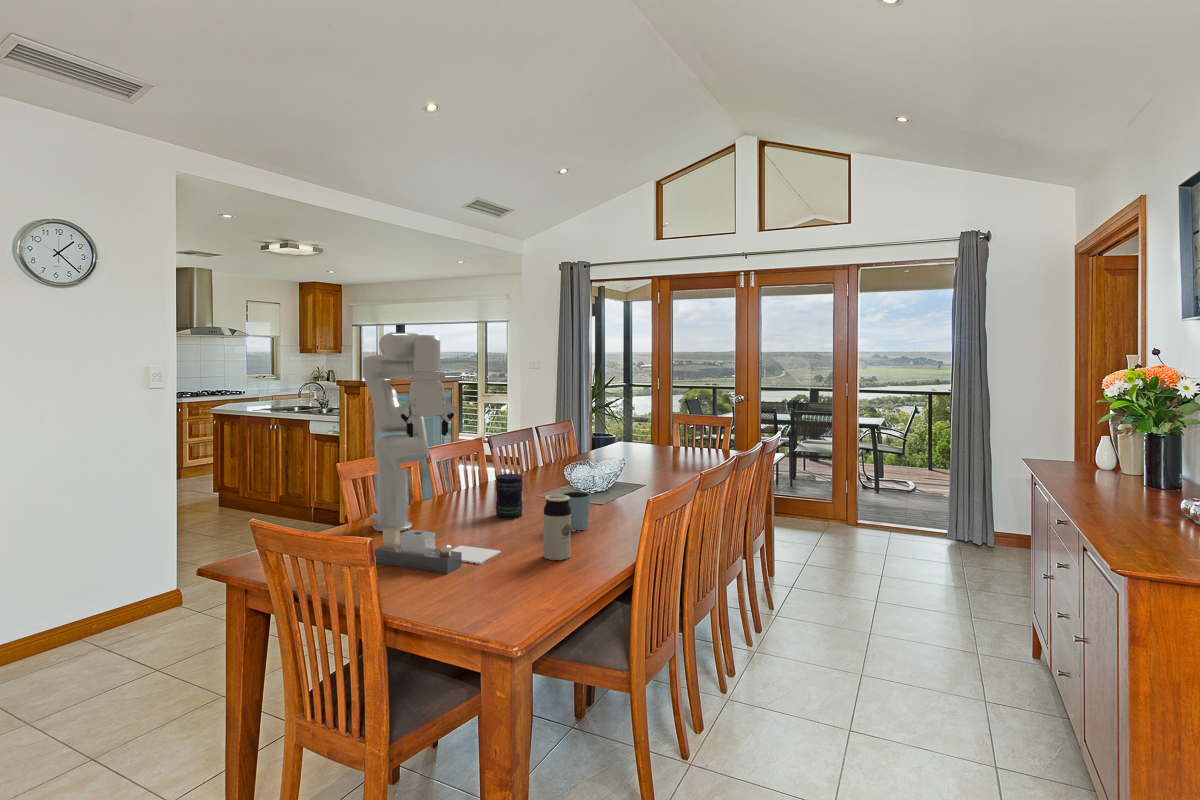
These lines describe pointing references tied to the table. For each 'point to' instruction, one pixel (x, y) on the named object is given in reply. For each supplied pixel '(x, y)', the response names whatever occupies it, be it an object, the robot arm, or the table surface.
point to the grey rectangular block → (417, 542)
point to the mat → (475, 554)
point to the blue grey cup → (579, 509)
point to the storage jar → (509, 496)
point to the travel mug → (557, 527)
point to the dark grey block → (416, 555)
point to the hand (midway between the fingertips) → (427, 436)
